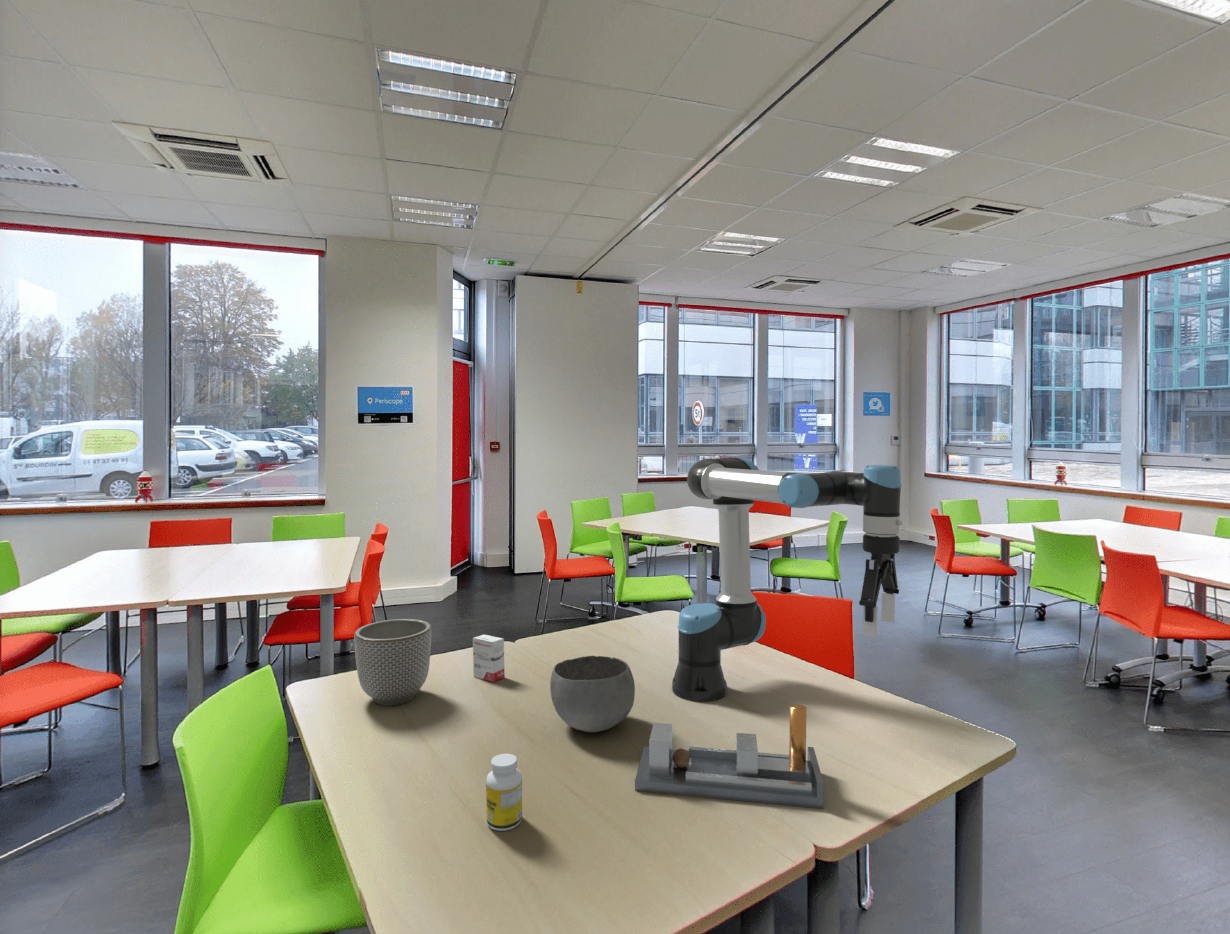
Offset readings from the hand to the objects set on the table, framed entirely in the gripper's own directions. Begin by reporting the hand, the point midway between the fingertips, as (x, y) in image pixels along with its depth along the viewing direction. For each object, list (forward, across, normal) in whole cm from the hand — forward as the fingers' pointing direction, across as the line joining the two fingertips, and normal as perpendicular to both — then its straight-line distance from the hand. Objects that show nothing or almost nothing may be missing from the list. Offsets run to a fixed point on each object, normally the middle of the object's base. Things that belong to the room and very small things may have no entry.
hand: (879, 628), depth 140 cm
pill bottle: (+28, -70, +45) cm, 88 cm away
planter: (+28, -52, +111) cm, 126 cm away
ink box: (+28, -26, +103) cm, 110 cm away
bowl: (+28, -31, +58) cm, 71 cm away
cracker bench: (+28, -33, +20) cm, 47 cm away
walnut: (+26, -37, +28) cm, 53 cm away
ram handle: (+25, -29, +12) cm, 40 cm away
